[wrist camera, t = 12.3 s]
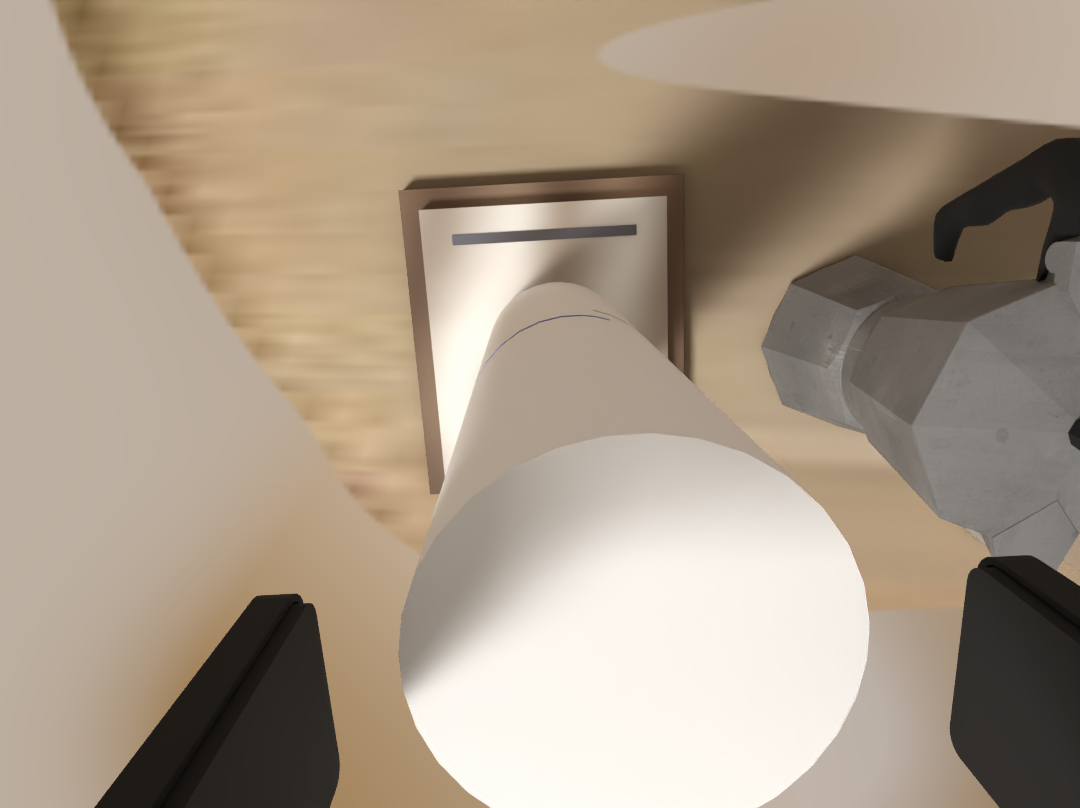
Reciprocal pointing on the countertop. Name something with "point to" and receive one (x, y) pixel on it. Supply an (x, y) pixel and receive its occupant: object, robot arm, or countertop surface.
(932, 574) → the countertop surface
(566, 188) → the notepad
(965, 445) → the coffeepot
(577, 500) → the cylindrical container
